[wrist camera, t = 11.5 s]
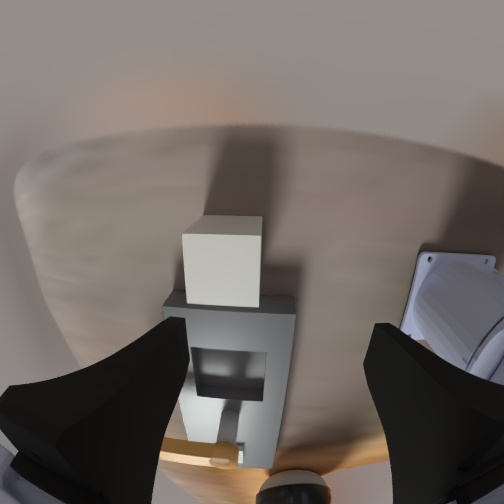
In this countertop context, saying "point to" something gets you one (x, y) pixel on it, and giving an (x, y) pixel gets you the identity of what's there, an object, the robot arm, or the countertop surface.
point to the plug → (223, 260)
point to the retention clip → (200, 453)
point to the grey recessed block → (236, 373)
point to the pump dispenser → (294, 489)
